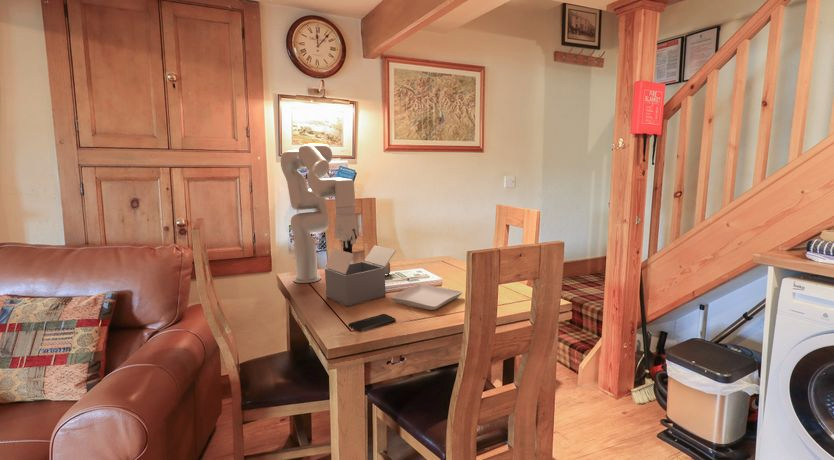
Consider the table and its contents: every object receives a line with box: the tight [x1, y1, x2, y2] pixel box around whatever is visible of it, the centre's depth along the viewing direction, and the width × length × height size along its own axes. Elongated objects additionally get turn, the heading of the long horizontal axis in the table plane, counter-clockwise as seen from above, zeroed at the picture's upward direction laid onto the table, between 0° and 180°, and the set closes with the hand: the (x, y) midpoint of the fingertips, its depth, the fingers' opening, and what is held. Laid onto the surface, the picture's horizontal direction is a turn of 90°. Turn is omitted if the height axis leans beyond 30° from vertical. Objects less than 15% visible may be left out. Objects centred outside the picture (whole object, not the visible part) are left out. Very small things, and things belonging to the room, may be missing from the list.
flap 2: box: [363, 244, 397, 267], centre depth 184 cm, size 15×8×1 cm
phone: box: [348, 313, 397, 333], centre depth 149 cm, size 8×1×15 cm
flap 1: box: [324, 248, 354, 274], centre depth 172 cm, size 15×8×1 cm
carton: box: [324, 261, 387, 308], centre depth 178 cm, size 16×18×12 cm
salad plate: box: [389, 284, 463, 311], centre depth 171 cm, size 21×21×3 cm
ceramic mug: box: [371, 261, 391, 274], centre depth 212 cm, size 11×8×8 cm
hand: (348, 256), depth 174 cm, fingers closed
